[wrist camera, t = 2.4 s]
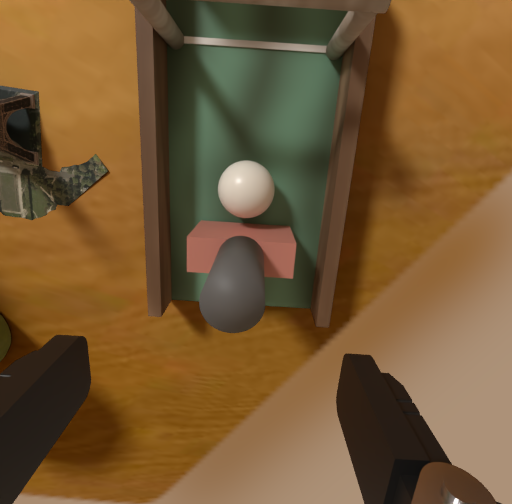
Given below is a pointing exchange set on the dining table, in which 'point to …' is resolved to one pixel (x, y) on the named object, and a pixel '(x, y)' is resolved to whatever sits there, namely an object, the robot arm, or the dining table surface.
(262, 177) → the ball
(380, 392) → the robot arm
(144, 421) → the dining table surface
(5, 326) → the plant pot
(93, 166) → the eiffel tower figurine
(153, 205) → the pitch
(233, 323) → the striker
